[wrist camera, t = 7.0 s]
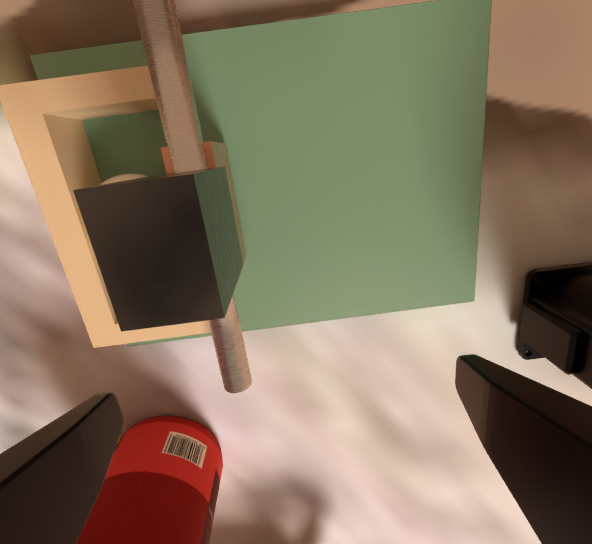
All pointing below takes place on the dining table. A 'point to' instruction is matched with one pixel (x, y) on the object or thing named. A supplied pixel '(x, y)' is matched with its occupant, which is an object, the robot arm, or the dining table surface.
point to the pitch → (287, 157)
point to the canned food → (158, 486)
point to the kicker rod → (173, 216)
